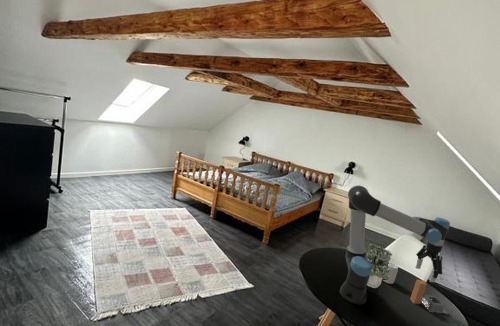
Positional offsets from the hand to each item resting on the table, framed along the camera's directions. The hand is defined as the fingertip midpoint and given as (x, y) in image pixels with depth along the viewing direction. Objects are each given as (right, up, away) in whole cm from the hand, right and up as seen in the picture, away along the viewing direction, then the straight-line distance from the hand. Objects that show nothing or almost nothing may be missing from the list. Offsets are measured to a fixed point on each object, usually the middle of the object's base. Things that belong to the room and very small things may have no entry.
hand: (424, 274), depth 171 cm
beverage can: (-12, -13, +22) cm, 28 cm away
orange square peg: (-4, -18, +4) cm, 19 cm away
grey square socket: (+6, -20, +3) cm, 22 cm away
